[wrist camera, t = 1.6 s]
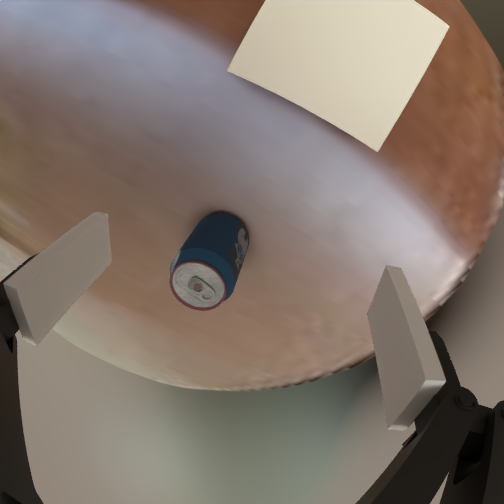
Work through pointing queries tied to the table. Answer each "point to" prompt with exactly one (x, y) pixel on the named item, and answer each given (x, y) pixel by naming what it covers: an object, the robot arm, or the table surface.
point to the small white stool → (342, 58)
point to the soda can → (209, 262)
